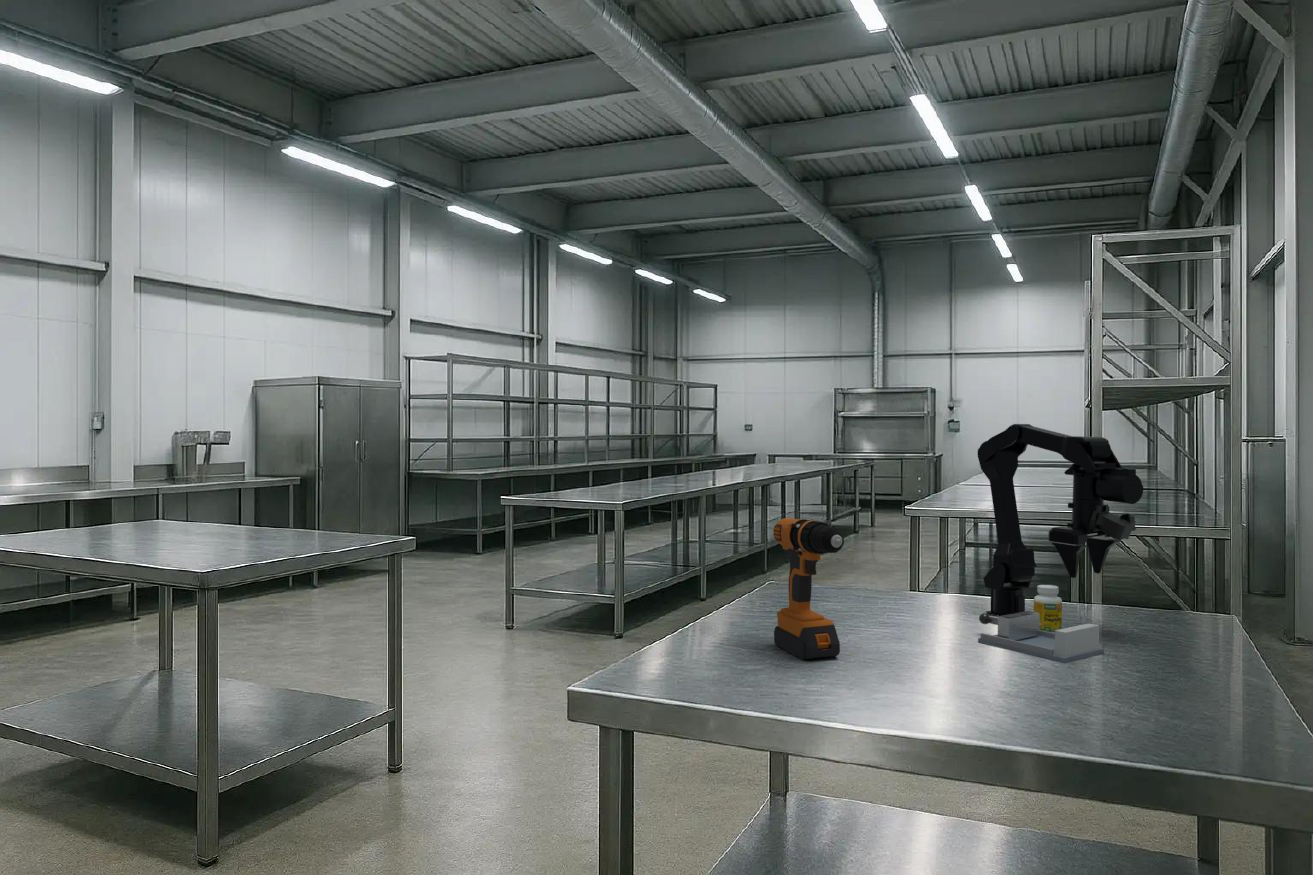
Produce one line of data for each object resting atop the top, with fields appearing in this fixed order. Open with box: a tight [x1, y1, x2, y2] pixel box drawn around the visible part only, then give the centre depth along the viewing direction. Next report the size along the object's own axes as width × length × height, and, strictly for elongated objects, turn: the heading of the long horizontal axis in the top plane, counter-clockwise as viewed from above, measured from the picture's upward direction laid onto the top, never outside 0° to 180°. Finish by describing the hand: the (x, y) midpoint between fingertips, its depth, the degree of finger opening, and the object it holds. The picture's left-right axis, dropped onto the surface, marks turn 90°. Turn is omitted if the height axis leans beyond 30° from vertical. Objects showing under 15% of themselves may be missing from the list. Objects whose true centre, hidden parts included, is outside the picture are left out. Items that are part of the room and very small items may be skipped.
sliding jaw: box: [978, 610, 1039, 640], centre depth 176 cm, size 10×10×4 cm
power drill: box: [772, 517, 845, 661], centre depth 163 cm, size 22×7×25 cm, turn 18°
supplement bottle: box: [1033, 584, 1063, 633], centre depth 182 cm, size 5×5×10 cm
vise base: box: [977, 623, 1105, 664], centre depth 169 cm, size 18×13×5 cm
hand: (1085, 575), depth 179 cm, fingers open, 9 cm apart
